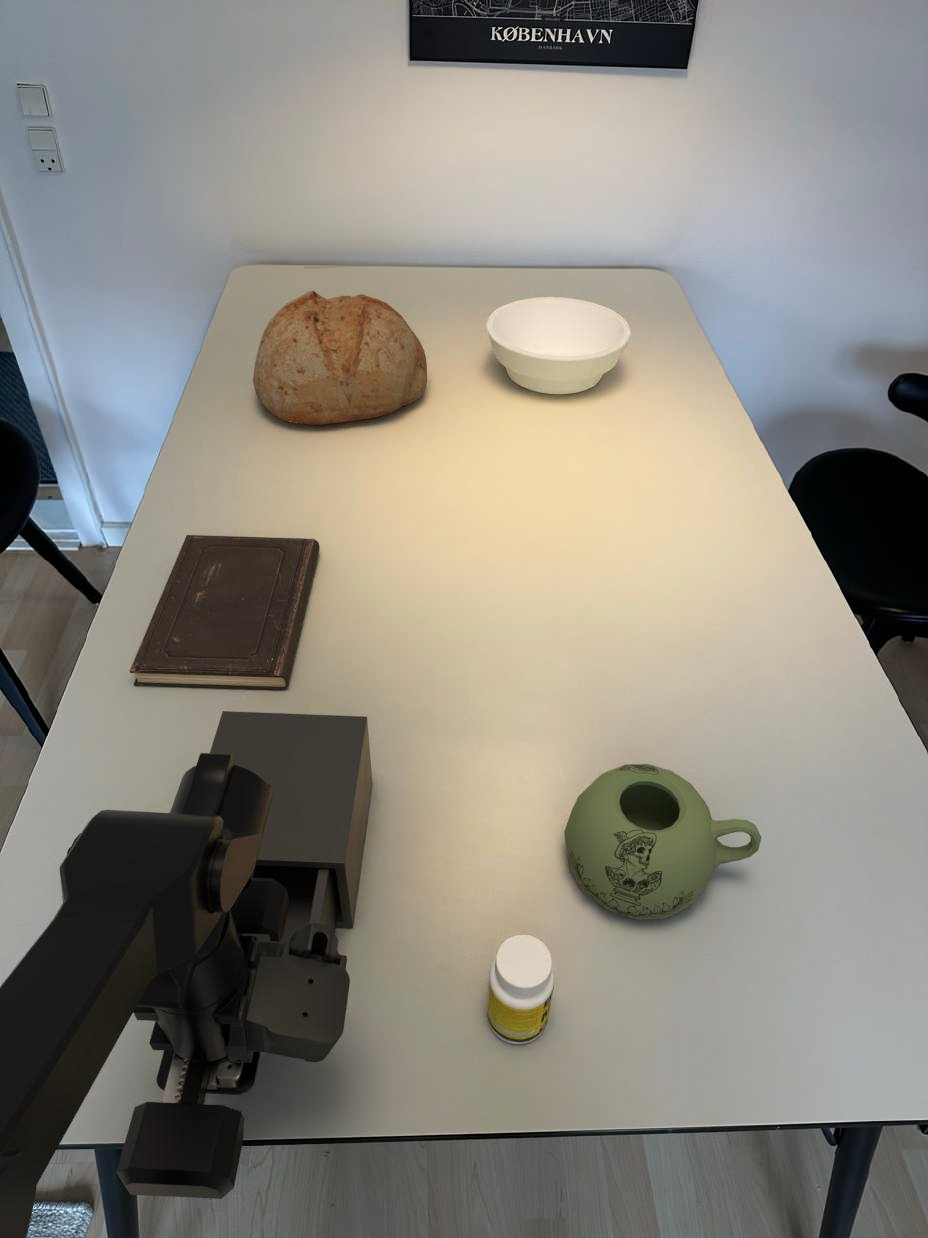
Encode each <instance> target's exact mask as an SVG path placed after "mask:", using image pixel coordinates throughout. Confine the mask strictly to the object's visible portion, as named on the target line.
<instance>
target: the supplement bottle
mask: <svg viewBox="0 0 928 1238" xmlns="http://www.w3.org/2000/svg"><path fill="white" fill-rule="evenodd" d="M488 972H489V974H488V984H487V986H488V987H487V994H486V995H487V996H486V1009H485V1013H486V1019H487V1023H488V1025H489V1027H490V1028H491V1031H492V1033H494V1035H495V1036H497V1037H498V1038H499V1039H500V1040H502V1041H504V1042H506V1043H508V1044H513V1045H524V1044H528V1043H531V1042H533V1041H535V1040H536V1039H538V1038H539V1037H540V1036H541V1035H542V1033H543V1032H544V1030H545V1029H546V1026H547V1023H548V1021H549V1020H548V1019H549V1016H550V1015H549V1014H550V1009H551V1004H552V998H553V992H554V988H555V974H554V969H553V958H552V955H551V951H550V949H549V948H548V946H546V944H545V943H544V942H543V941H542V940H540V939H539V938H537V937H536V936H533V935H529V934H517V935H516V934H515V935H512V936H510V937H508V938H507V939H505V940H503V942H502V943H501V944H500V946H499V947H498V949H497V951H496V955H495V957H494V959H493V960H492V963H491V965H490V968H489V971H488Z"/></svg>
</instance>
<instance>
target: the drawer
mask: <svg viewBox="0 0 928 1238" xmlns="http://www.w3.org/2000/svg"><path fill="white" fill-rule="evenodd" d="M252 878H271V879H273V880H275V881H277V882H279V883H281V884H282V885H283V886H284V887H285V888H286V889H287V893H288V898H289V902H290V903H289V908H288V913H287V919H286V924H285V929H284V934H283V937H282V939H281V940H280V942H272V941H271V940H270V936H269V935H268V934H244V933H243V936H255V937H257V939H258V941H259V942H260V946H261V948H262V949H264V950H265V951H266V954H267V956H270V957H275V952H276V947H277V945H278V944H281V943H288V944H289V943H290V939H291V937H292V935H293V934H294V932H296V931H297V930H299V929H301V928H303V927H305V926H307V925H310V924H312V923H319V924H324V925H328V926H332V927H333V928H334V931H335V932H336V930H335V929H336V927H335V924H336V918H337V911H338V905H339V891H338V884H337V877H336V870H335V868H313V867H289V866H264V865H255V868H254V872H253V876H252Z"/></svg>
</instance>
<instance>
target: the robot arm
mask: <svg viewBox="0 0 928 1238" xmlns="http://www.w3.org/2000/svg"><path fill="white" fill-rule="evenodd" d="M272 798H273V791H272V788H271V786H270V785H269V784H267V783H266V782H265V781H264V780H263V779H262V778H261V777H259V776H258V775H257V774H255V773H253V772H251V771H250V770H248V769H245V768H243V767H240V766H237V765H235V764H234V760H233V755H230V754H212V753H210V752H201V753H200V754H199V756H198V759H197V762H196V765H194V766H192V767H191V768H189V769H188V770H186V771H185V773H184V774H183V776H182V777H181V780H180V782H179V785H178V789H177V791H176V795H175V797H174V799H173V802H172V806H171V808H170V811H169V812H155V811H139V810H123V809H122V810H120V809H102V810H100V811H99V812H97V813H96V814H95V815H94V816H93V817H91V818H90V820H89V821H88V822H87V824H86V825H84V828H83V830H82V831H81V832H79V834H78V835H77V836H76V837H75V839H73V842H72V844H71V846H70V847H68V849H67V852H66V856H65V857H64V859H63V860H62V862H61V863H60V864H59V865H60V866H59V878H60V888H61V898H62V903H61V905H60V907H59V908H58V910H57V912H56V913H55V915H54V916H53V918H52V920H51V921H50V922H49V924H48V925H47V926H46V927H45V929H44V930H43V932H42V933H41V934H40V935H39V936H38V938H37V939H36V941H34V943H33V944H32V945H31V947H29V949H28V951H27V952H26V953H25V954H24V955H23V957H22V958H21V959H20V961H19V962H18V963H17V964H16V966H15V967H14V968H13V970H12V971H11V972H10V973H9V974H8V976H7V977H6V978H5V980H4V981H3V982H2V983H1V985H0V1238H27V1237H28V1232H29V1228H30V1224H31V1219H32V1215H33V1210H34V1203H35V1199H36V1193H37V1186H38V1183H39V1182H40V1180H41V1179H42V1177H43V1174H44V1173H45V1171H46V1170H47V1168H48V1166H49V1164H50V1162H51V1160H52V1159H53V1156H54V1155H55V1153H56V1152H57V1149H59V1148H58V1147H59V1146H60V1145H61V1143H62V1141H63V1139H64V1137H65V1136H66V1133H68V1130H69V1128H70V1127H71V1124H72V1123H73V1120H74V1119H75V1117H76V1116H77V1114H78V1112H79V1110H80V1108H81V1107H82V1105H83V1103H84V1101H85V1099H86V1097H87V1096H88V1094H89V1092H90V1091H91V1088H92V1086H93V1085H94V1083H95V1081H96V1080H97V1078H98V1076H99V1074H100V1073H101V1070H102V1069H103V1067H104V1066H105V1064H106V1062H107V1060H108V1058H109V1057H110V1054H111V1053H112V1051H113V1049H114V1047H116V1044H117V1042H118V1041H119V1039H120V1037H121V1035H122V1033H123V1032H124V1029H125V1027H126V1026H127V1024H128V1022H129V1020H130V1019H131V1017H132V1016H133V1015H134V1017H135V1019H136V1020H137V1021H148V1022H149V1021H151V1022H154V1024H153V1025H154V1026H153V1029H152V1032H151V1035H150V1038H149V1043H148V1044H149V1045H150V1048H151V1049H152V1051H163V1053H162V1057H161V1060H160V1065H159V1068H158V1072H157V1074H156V1084H157V1087H158V1088H159V1089H160V1090H162V1091H163V1094H162V1098H161V1101H146V1102H143V1103H141V1104H139V1105H136V1106H134V1108H133V1111H132V1115H131V1118H130V1123H129V1126H128V1130H127V1134H126V1136H125V1140H124V1143H123V1146H122V1147H123V1148H122V1151H121V1154H120V1158H119V1160H118V1165H117V1168H116V1174H117V1176H118V1178H119V1180H120V1181H121V1183H122V1185H123V1186H124V1187H125V1189H126V1191H127V1192H128V1193H129V1194H130V1195H131V1196H149V1197H170V1198H171V1197H172V1198H190V1199H191V1198H192V1199H193V1198H195V1199H216V1200H217V1199H218V1200H219V1199H220V1200H222V1199H223V1198H224V1197H225V1196H227V1195H228V1194H229V1193H230V1192H231V1191H232V1190H234V1188H235V1184H236V1179H237V1173H238V1170H239V1169H238V1168H239V1165H240V1158H241V1153H242V1148H243V1143H244V1139H245V1120H246V1119H245V1115H244V1114H243V1111H242V1110H238V1109H236V1108H233V1107H230V1106H227V1105H225V1104H208V1103H207V1104H206V1103H205V1100H206V1096H207V1094H208V1095H209V1094H210V1095H228V1096H229V1095H231V1096H232V1095H233V1096H239V1095H242V1094H245V1093H248V1092H249V1091H251V1090H252V1088H253V1087H254V1085H255V1082H256V1077H257V1073H258V1067H259V1062H260V1058H261V1053H266V1054H271V1055H276V1056H281V1057H287V1058H293V1059H298V1060H302V1061H304V1062H306V1063H311V1064H316V1063H320V1062H323V1061H325V1059H327V1057H328V1056H329V1055H330V1053H331V1051H332V1050H333V1049H334V1047H335V1046H336V1044H337V1043H338V1041H339V1040H340V1039H341V1037H343V1033H344V1029H345V1022H346V1014H347V1008H348V1007H347V1005H348V999H349V998H348V997H349V991H350V984H351V983H350V982H351V978H350V975H349V973H348V971H347V963H348V955H344V954H340V953H339V951H338V947H339V939H338V936H337V933H336V930H335V931H334V928H333V927H332V926H328V925H324V924H319V923H312V924H310V925H307V926H305V927H303V928H301V929H299V930H297V931H296V932H294V934H293V935H292V937H291V939H290V943H289V944H288V943H281V944H278V945H277V947H276V952H275V957H270V956H267V954H266V951H265V950H264V949H262V948H261V946H260V942H259V941H258V939H257V937H255V936H243V933H244V934H268V935H269V936H270V940H271V941H272V942H280V940H281V939H282V937H283V934H284V929H285V924H286V919H287V913H288V908H289V903H290V902H289V898H288V893H287V889H286V888H285V887H284V886H283V885H282V884H281V883H279V882H277V881H275V880H273V879H271V878H252V876H253V872H254V868H255V864H256V860H257V857H258V853H259V849H260V845H261V841H262V837H263V833H264V829H265V825H266V821H267V818H268V814H269V810H270V806H271V802H272ZM179 1098H180V1099H179Z"/></svg>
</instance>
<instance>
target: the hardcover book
mask: <svg viewBox="0 0 928 1238" xmlns="http://www.w3.org/2000/svg"><path fill="white" fill-rule="evenodd" d="M320 549H321V547H320V543H319V541H318V540H316V539H315V538H296V537H270V536H269V537H268V536H236V535H235V536H234V535H233V536H231V535H206V534H205V535H202V534H201V535H199V534H186V535H185V537H184V541H183V543H182V545H181V547H180V550H179V552H178V555H177V557H176V559H175V562H174V564H173V566H172V569H171V571H170V574H169V576H168V578H167V580H166V583H165V585H164V588H163V590H162V593H161V595H160V597H159V599H158V602H157V605H156V606H155V609H154V611H153V614H152V617H151V618H150V622H149V624H148V625H147V628H146V631H145V633H144V635H143V637H142V641H141V642H140V645H139V647H138V650H137V652H136V653H135V657H134V659H133V661H132V664H131V666H130V668H129V673H130V674H135V680H134V682H133V686H135V687H136V686H137V687H161V688H163V687H164V688H165V687H166V688H167V687H168V688H194V689H195V688H197V689H226V690H227V689H228V690H230V689H231V690H257V691H258V690H259V691H260V690H261V691H285V690H286V689H287V688H288V687H289V682H290V677H291V673H292V669H293V665H294V661H295V657H296V651H297V647H298V644H299V639H300V635H301V630H302V626H303V622H304V618H305V615H306V610H307V605H308V602H309V596H310V592H311V589H312V584H313V580H314V576H315V572H316V568H317V562H318V558H319V555H320Z"/></svg>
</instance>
